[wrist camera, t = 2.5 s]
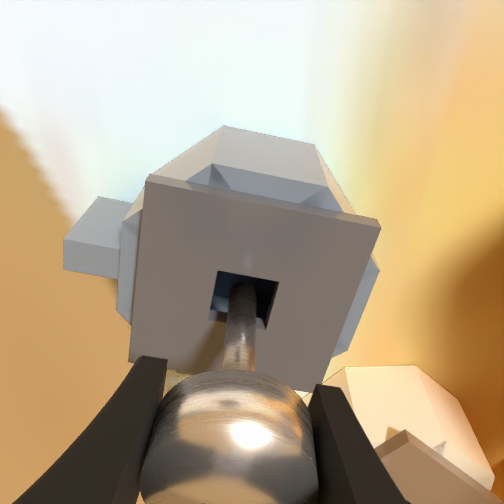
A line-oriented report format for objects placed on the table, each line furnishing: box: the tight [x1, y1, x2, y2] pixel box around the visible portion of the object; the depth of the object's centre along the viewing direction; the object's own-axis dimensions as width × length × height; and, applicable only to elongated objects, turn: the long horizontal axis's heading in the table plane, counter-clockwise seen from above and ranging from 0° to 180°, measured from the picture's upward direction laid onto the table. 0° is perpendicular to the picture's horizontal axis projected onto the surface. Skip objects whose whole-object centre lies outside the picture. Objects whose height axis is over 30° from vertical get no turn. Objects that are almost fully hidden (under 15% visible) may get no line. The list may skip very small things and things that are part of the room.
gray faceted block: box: [63, 126, 381, 393], centre depth 17 cm, size 10×8×5 cm
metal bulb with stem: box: [140, 281, 319, 504], centre depth 12 cm, size 4×4×7 cm
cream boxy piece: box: [302, 365, 504, 504], centre depth 23 cm, size 10×8×5 cm
